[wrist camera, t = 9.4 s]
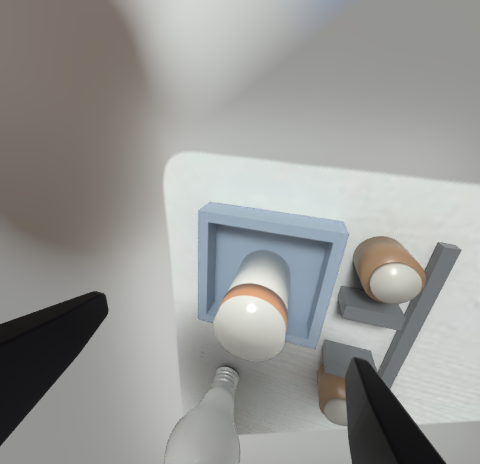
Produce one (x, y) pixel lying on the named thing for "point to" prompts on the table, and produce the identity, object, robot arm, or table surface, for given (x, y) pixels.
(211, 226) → the tray
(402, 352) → the grey bar and blocks
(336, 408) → the cylinder
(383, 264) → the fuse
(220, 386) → the lightbulb
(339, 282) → the table surface
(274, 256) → the cylinder
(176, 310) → the table surface
